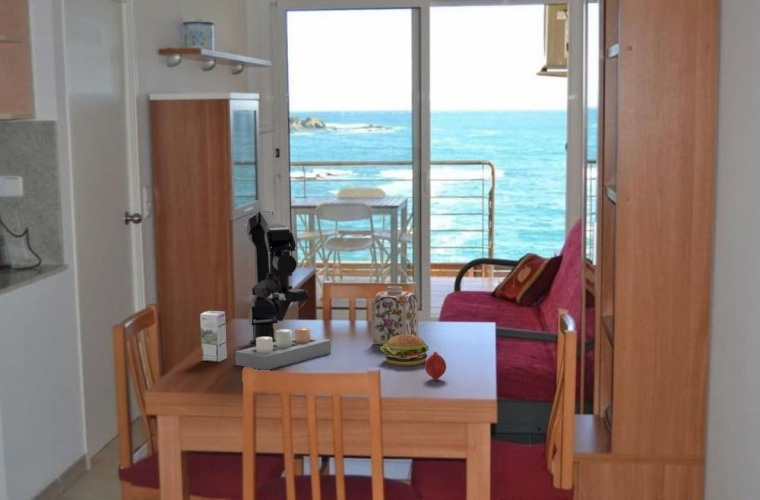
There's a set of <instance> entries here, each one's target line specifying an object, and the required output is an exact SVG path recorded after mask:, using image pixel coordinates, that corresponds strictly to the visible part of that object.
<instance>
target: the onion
mask: <svg viewBox="0 0 760 500" xmlns="http://www.w3.org/2000/svg"><path fill="white" fill-rule="evenodd" d="M424 369H425V371H426V372H425V373H426V374H427V375H428V376H430V378H432V379H433V380H434V381H436V380H437V381H438V380H439V379H440V378H441V377H443V375H444V374H445V372H446V370H447V364H446V360H445V359H444V358H443V356H441V355H440V354H439V353H438V351H433V354H431V355H429V356H428V357H427V358H426V360H425V362H424Z"/></svg>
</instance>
